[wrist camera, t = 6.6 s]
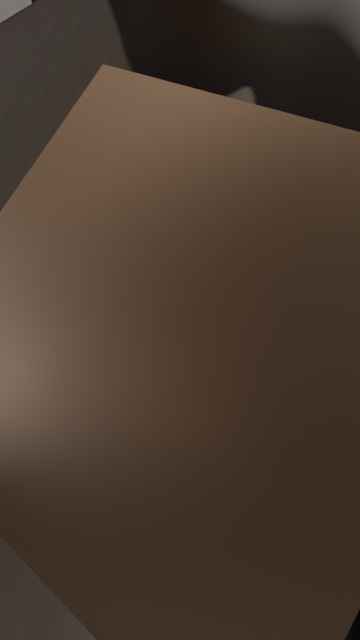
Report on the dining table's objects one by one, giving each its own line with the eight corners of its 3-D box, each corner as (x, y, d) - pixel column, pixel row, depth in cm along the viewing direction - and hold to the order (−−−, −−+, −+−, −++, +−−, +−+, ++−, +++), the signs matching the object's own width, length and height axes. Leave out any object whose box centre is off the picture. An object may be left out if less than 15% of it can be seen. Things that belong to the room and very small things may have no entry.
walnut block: (263, 462, 14) (257, 815, 2) (178, 405, 16) (-129, 397, 3) (313, 372, 14) (568, 188, 2) (225, 325, 16) (103, 64, 4)
